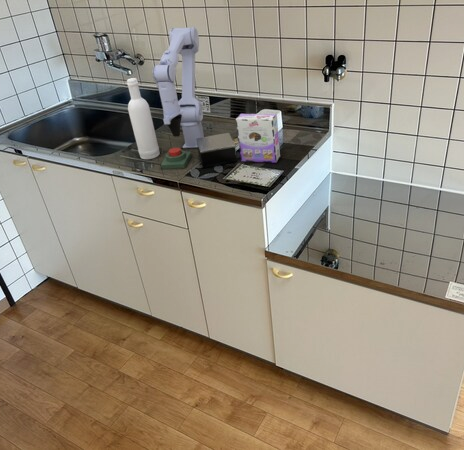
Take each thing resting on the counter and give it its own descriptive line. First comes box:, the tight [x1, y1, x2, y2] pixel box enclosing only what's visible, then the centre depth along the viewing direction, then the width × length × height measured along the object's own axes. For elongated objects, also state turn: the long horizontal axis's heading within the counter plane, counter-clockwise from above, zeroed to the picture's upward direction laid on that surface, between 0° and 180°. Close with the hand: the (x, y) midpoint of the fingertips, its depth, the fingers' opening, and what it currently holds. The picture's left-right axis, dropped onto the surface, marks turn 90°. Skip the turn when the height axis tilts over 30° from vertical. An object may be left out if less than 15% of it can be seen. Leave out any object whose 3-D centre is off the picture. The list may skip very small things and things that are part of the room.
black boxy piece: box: [196, 140, 238, 170], centre depth 174 cm, size 12×13×6 cm
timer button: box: [168, 147, 182, 157], centre depth 175 cm, size 4×4×2 cm
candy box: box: [235, 113, 281, 164], centre depth 167 cm, size 14×6×16 cm, turn 71°
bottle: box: [126, 77, 161, 160], centre depth 177 cm, size 8×8×30 cm
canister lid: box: [196, 132, 236, 153], centre depth 172 cm, size 13×13×1 cm
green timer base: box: [160, 148, 192, 170], centre depth 176 cm, size 11×9×4 cm
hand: (176, 135), depth 172 cm, fingers closed
